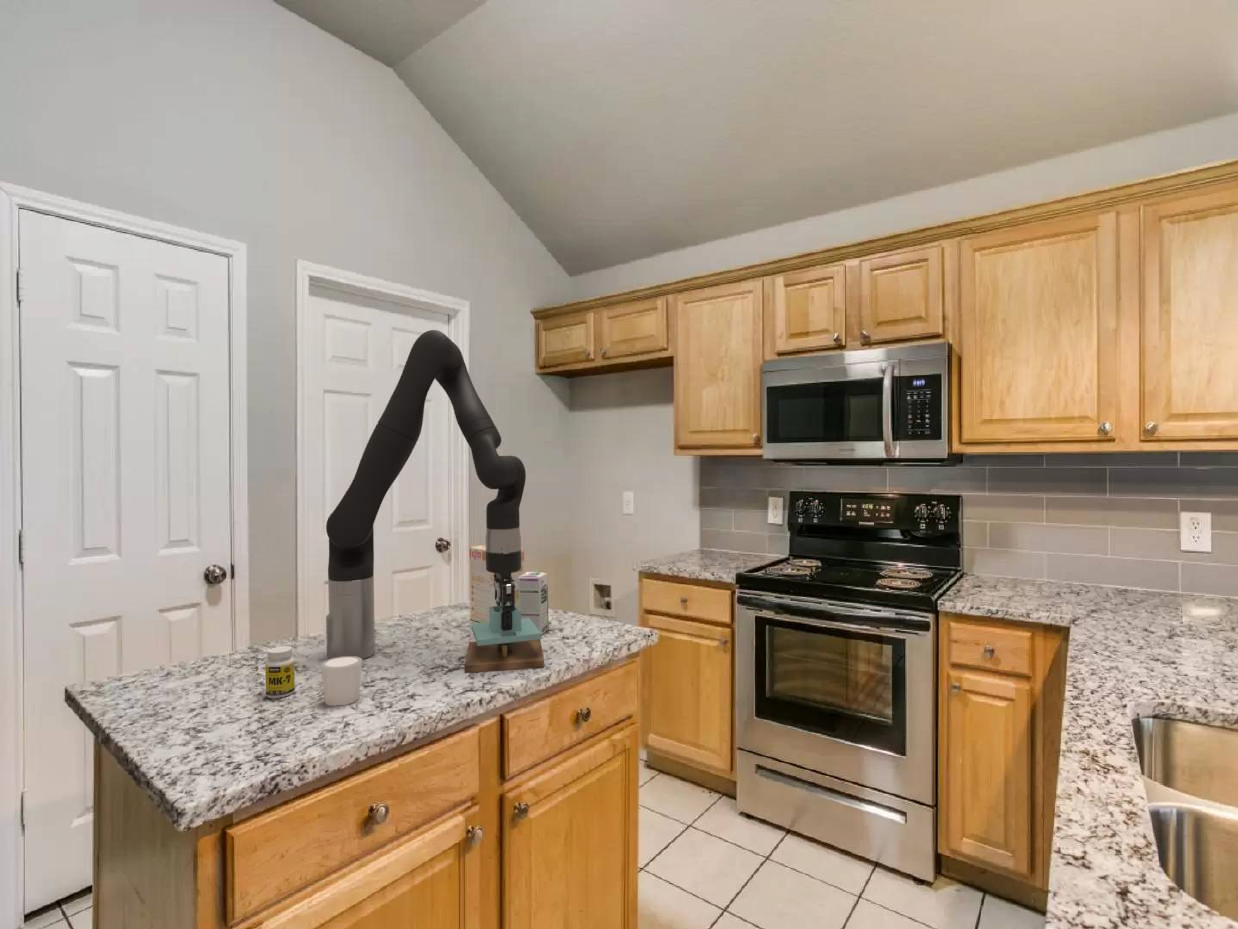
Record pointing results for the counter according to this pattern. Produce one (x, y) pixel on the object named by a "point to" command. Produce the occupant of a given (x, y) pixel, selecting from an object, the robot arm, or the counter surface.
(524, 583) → the syrup box
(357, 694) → the white short cylinder
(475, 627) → the flange plate
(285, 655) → the supplement bottle
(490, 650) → the post block
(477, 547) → the coffeecake box
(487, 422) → the robot arm
